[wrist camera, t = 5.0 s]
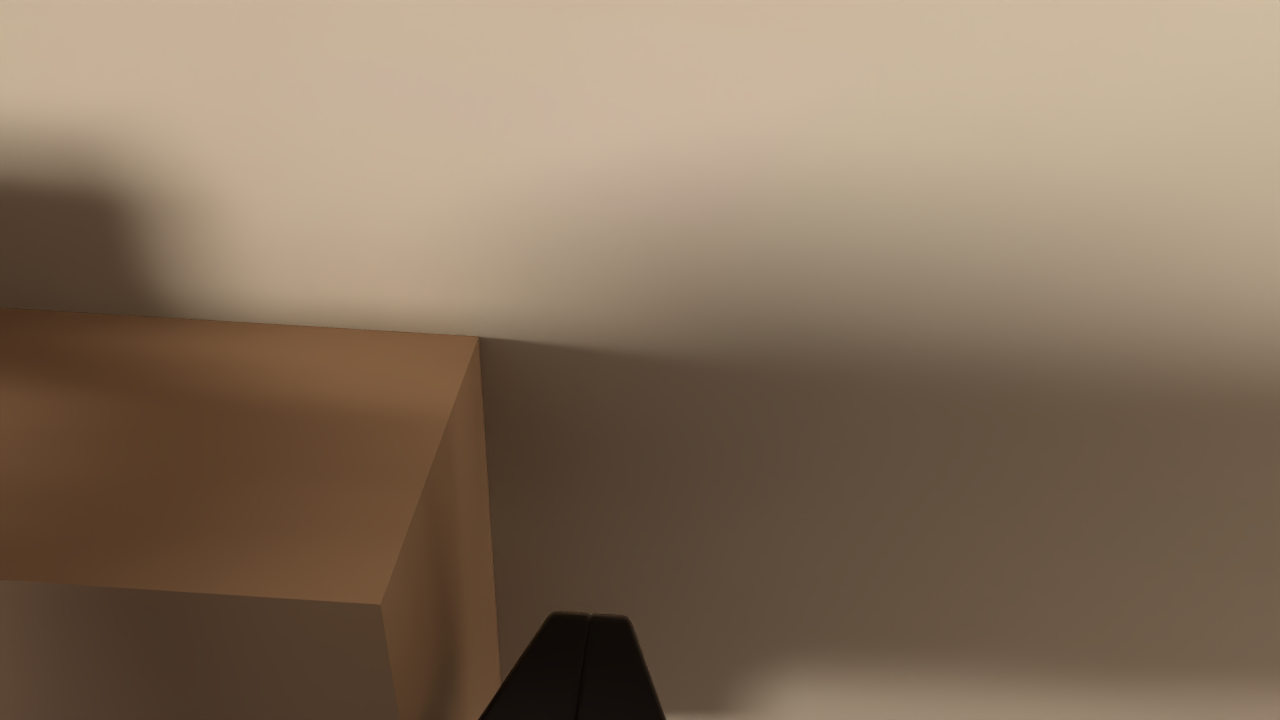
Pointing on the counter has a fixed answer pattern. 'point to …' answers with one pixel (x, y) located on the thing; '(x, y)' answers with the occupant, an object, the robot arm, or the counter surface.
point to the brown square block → (241, 522)
